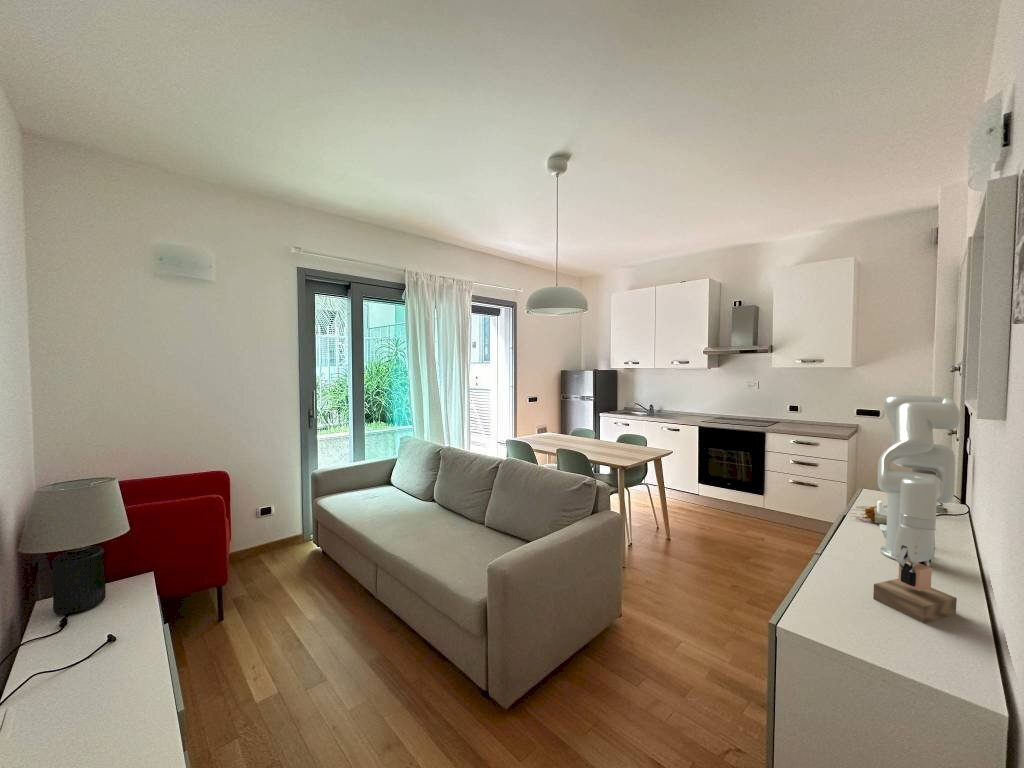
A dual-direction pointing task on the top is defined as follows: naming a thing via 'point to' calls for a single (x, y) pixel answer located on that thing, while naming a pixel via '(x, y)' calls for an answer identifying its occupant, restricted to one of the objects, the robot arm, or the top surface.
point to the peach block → (919, 577)
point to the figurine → (883, 512)
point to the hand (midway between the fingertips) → (914, 581)
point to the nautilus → (873, 515)
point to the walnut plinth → (915, 601)
